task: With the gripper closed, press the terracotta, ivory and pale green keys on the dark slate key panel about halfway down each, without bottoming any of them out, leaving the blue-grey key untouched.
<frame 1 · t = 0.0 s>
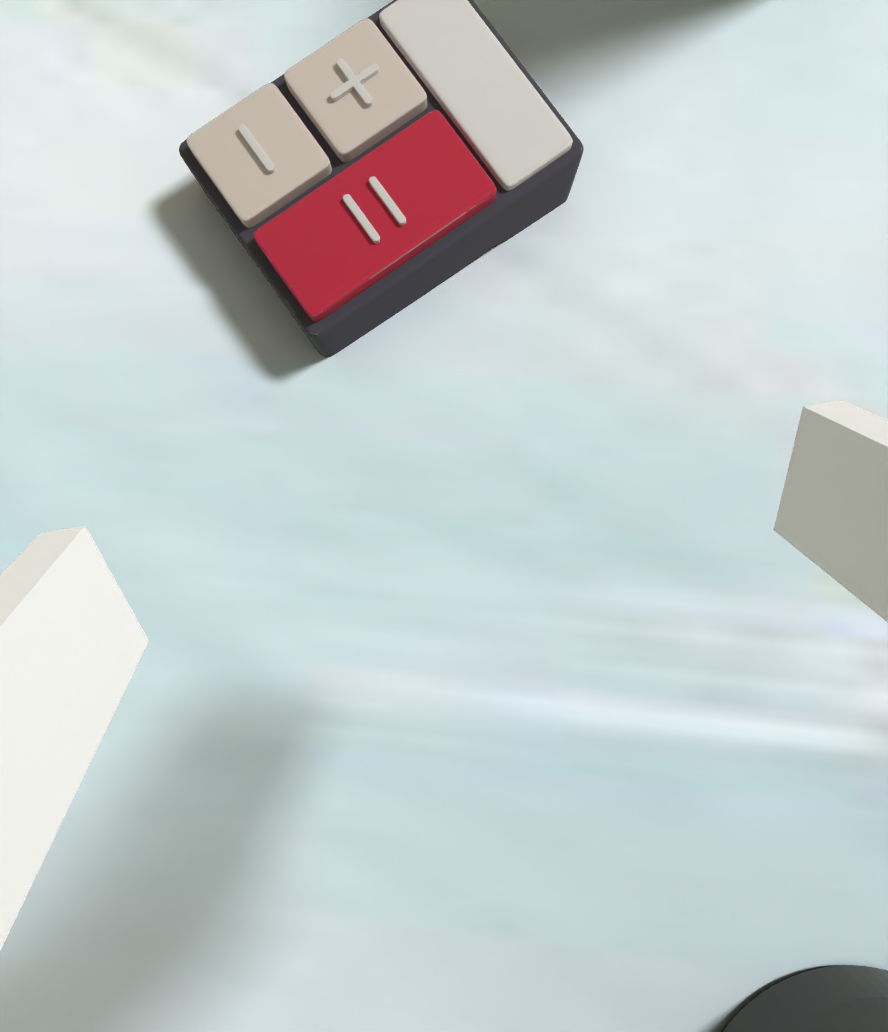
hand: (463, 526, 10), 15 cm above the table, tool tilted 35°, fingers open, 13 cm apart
calculator: (387, 199, 28), on the table
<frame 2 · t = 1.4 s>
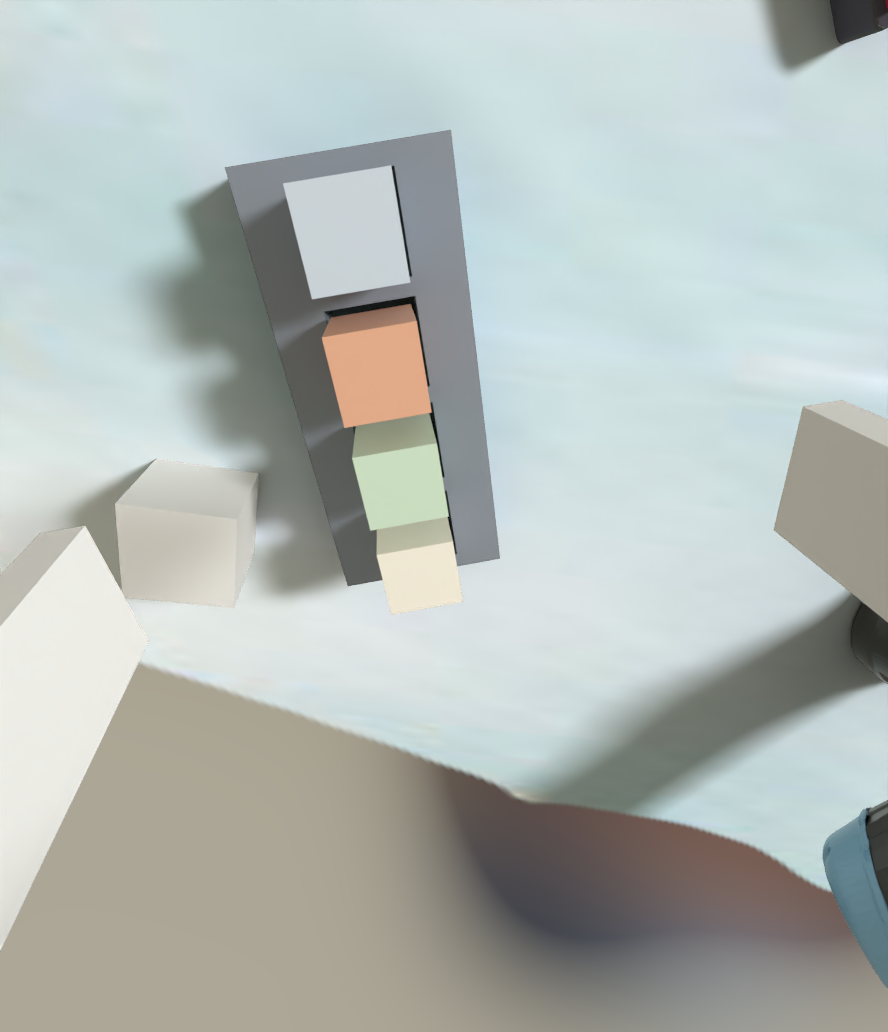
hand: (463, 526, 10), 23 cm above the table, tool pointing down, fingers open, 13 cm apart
key terracotta: (379, 362, 26), point 6 cm above the table, slide at 0.0 cm
key bluegrey: (352, 233, 23), point 6 cm above the table, slide at 0.0 cm
key ivory: (418, 553, 31), point 6 cm above the table, slide at 0.0 cm
key panel: (388, 386, 32), on the table
pale grey cube: (209, 506, 35), on the table
key green: (400, 467, 28), point 6 cm above the table, slide at 0.0 cm
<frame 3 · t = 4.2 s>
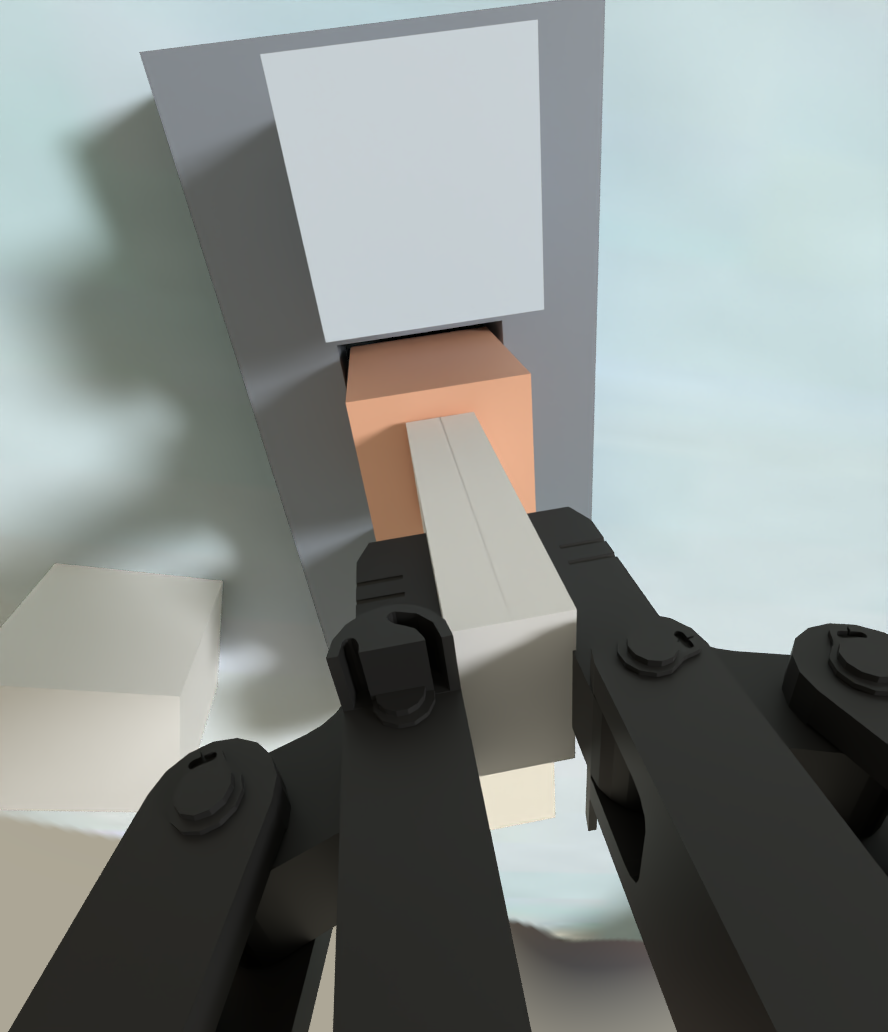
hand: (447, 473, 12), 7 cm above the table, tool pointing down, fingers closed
key terracotta: (437, 432, 15), point 5 cm above the table, slide at 1.1 cm, touching gripper
key bluegrey: (409, 198, 11), point 6 cm above the table, slide at 0.0 cm
key ivory: (479, 728, 19), point 6 cm above the table, slide at 0.0 cm
key panel: (432, 455, 20), on the table
pale grey cube: (146, 625, 23), on the table
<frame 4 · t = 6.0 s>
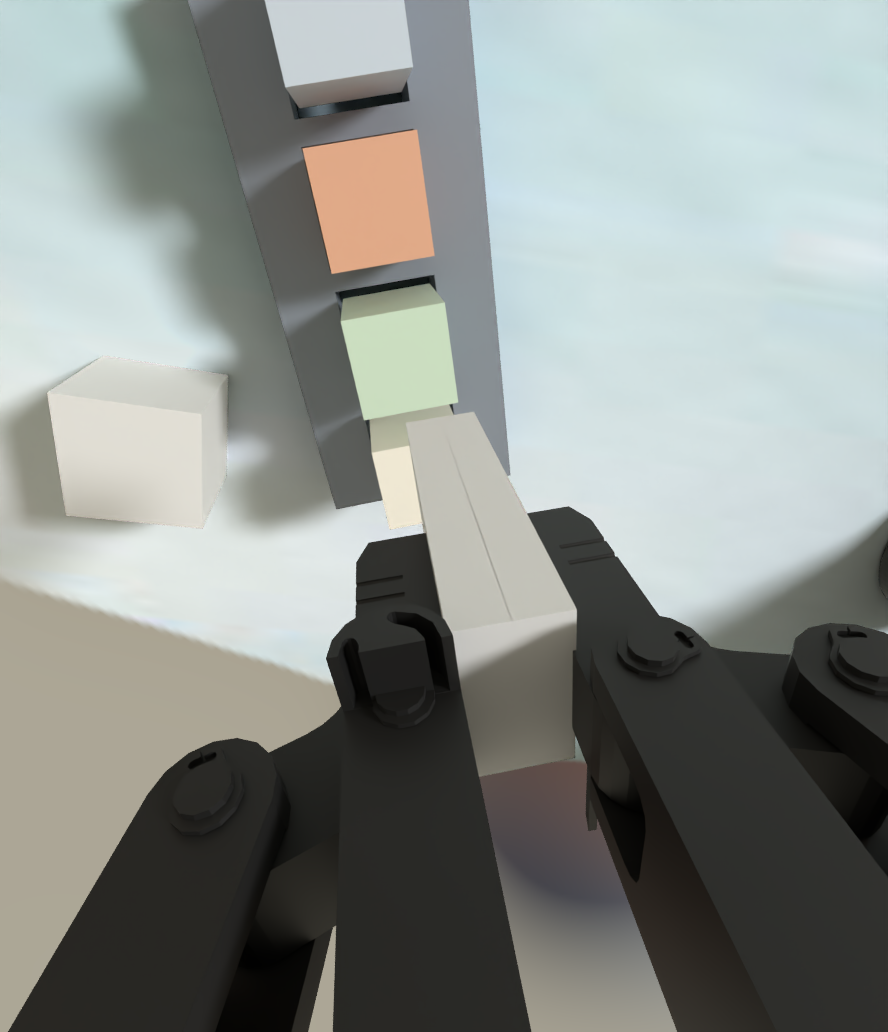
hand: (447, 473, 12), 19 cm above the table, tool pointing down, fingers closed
key terracotta: (370, 203, 22), point 4 cm above the table, slide at 1.3 cm
key bluegrey: (335, 13, 18), point 6 cm above the table, slide at 0.0 cm
key ivory: (419, 460, 26), point 6 cm above the table, slide at 0.0 cm
key panel: (380, 265, 27), on the table
pale grey cube: (170, 417, 30), on the table
key green: (398, 348, 24), point 6 cm above the table, slide at 0.0 cm
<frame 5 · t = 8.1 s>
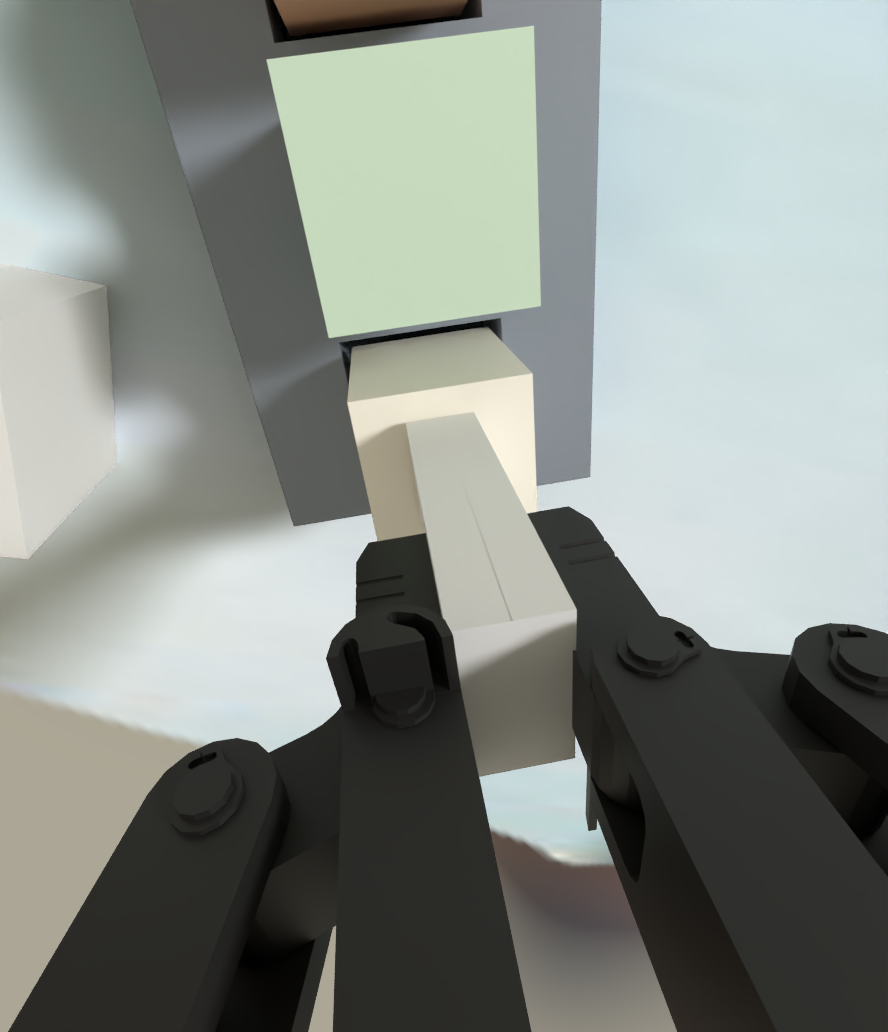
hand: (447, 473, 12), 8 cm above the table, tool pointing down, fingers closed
key ivory: (438, 431, 15), point 5 cm above the table, slide at 0.8 cm, touching gripper
key panel: (379, 81, 15), on the table
pale grey cube: (12, 361, 17), on the table
key green: (410, 198, 11), point 6 cm above the table, slide at 0.0 cm
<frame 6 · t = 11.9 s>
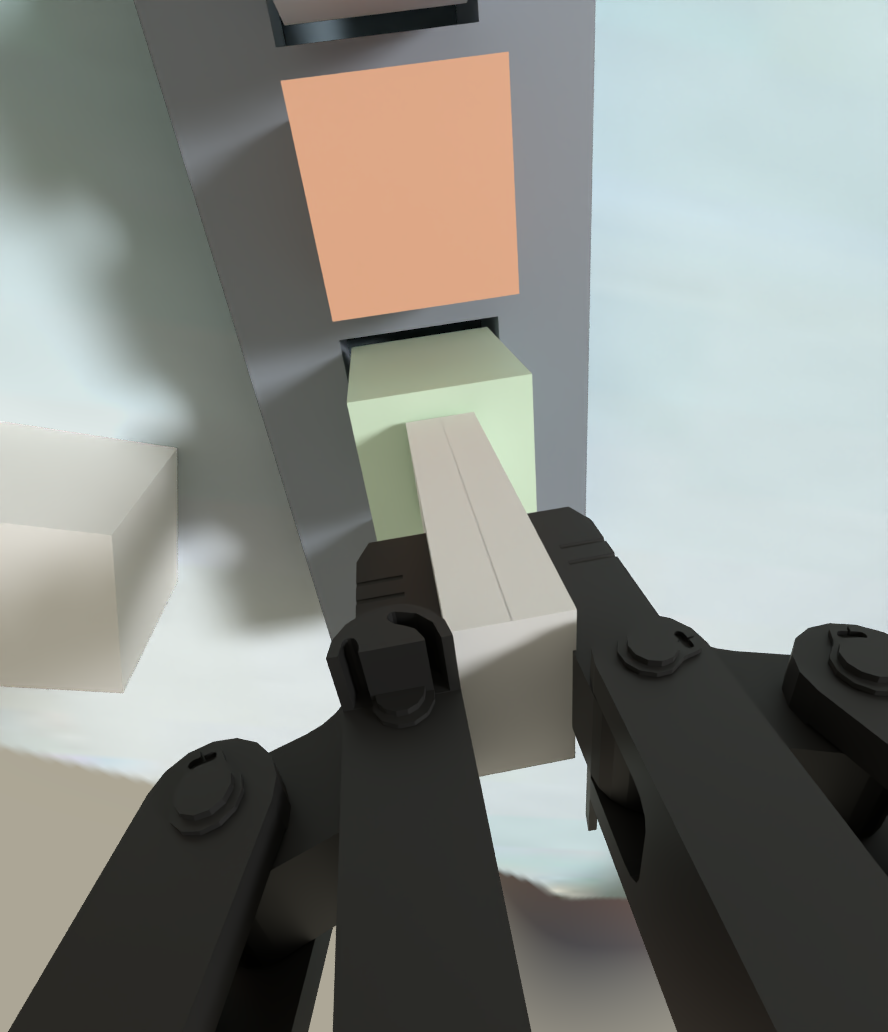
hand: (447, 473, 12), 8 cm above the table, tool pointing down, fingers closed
key terracotta: (404, 198, 13), point 4 cm above the table, slide at 1.3 cm
key panel: (409, 295, 18), on the table
pale grey cube: (94, 504, 20), on the table
key green: (438, 432, 15), point 5 cm above the table, slide at 0.5 cm, touching gripper
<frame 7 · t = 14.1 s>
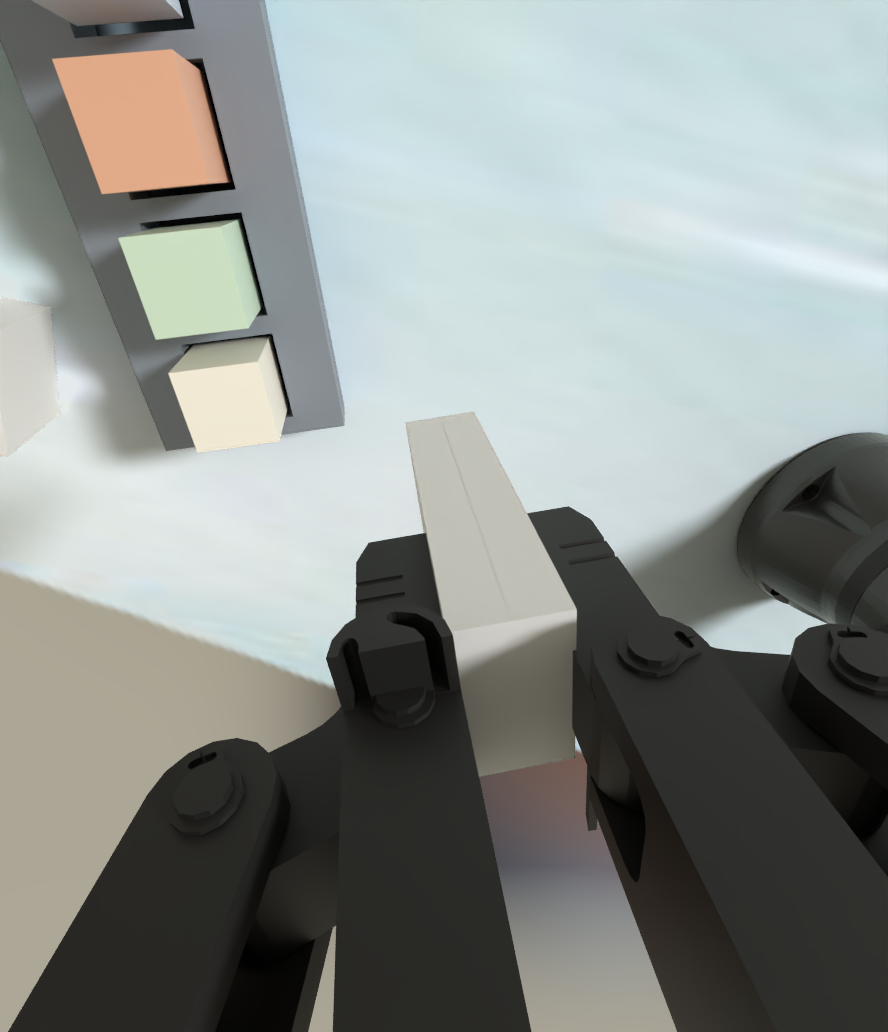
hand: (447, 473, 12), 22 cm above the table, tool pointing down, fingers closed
key terracotta: (155, 130, 22), point 4 cm above the table, slide at 1.3 cm
key ivory: (235, 391, 28), point 4 cm above the table, slide at 1.3 cm
key panel: (201, 203, 27), on the table
key green: (200, 276, 25), point 4 cm above the table, slide at 1.3 cm
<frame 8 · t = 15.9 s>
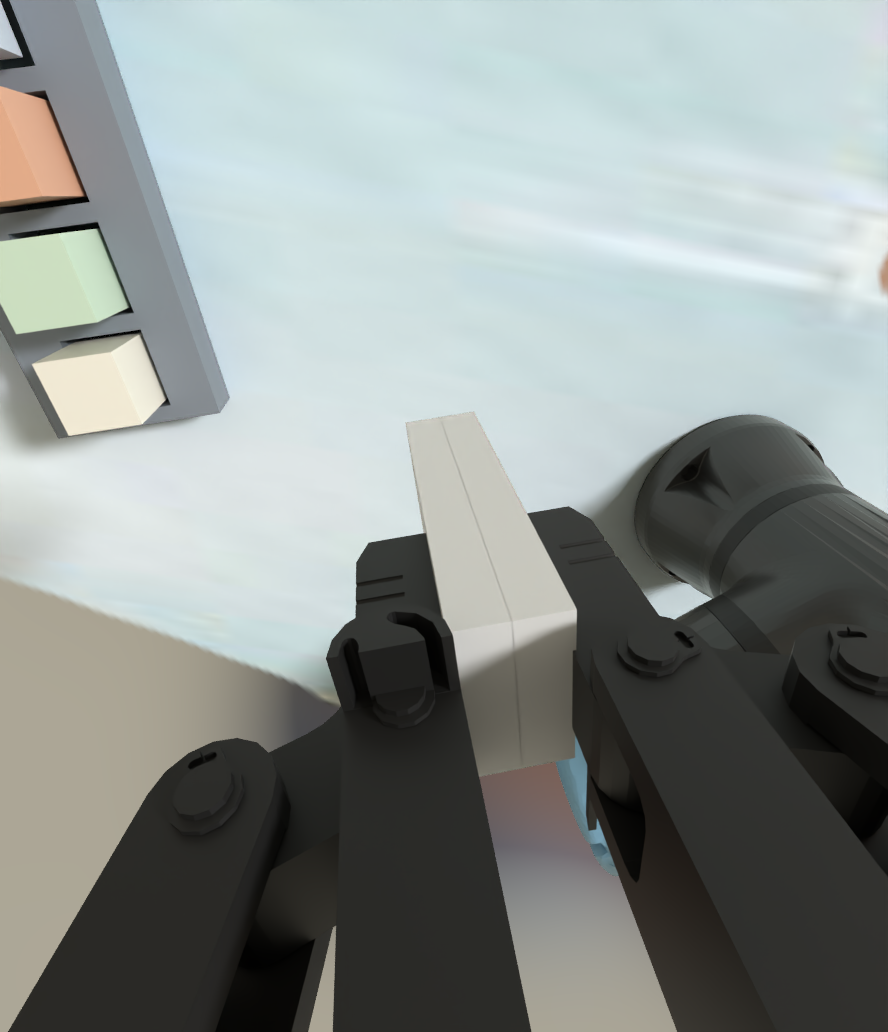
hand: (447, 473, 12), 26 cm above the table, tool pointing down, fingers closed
key terracotta: (4, 152, 25), point 4 cm above the table, slide at 1.3 cm
key ivory: (107, 381, 31), point 4 cm above the table, slide at 1.3 cm
key panel: (74, 216, 31), on the table
key green: (61, 278, 28), point 4 cm above the table, slide at 1.3 cm
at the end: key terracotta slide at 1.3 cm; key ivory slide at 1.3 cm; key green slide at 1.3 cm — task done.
